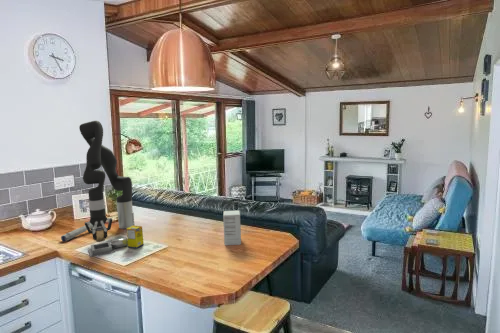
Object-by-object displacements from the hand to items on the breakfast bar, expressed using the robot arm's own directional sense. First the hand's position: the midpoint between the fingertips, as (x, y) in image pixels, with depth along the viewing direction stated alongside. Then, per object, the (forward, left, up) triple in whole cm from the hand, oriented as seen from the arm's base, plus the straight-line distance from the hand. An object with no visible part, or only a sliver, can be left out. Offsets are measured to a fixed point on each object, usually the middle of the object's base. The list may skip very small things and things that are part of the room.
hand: (100, 238), depth 178 cm
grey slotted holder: (-4, 0, -7) cm, 8 cm away
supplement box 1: (-17, +4, -7) cm, 19 cm away
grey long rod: (+7, -36, -7) cm, 37 cm away
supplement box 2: (-64, +29, -7) cm, 71 cm away
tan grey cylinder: (0, 0, -1) cm, 1 cm away
